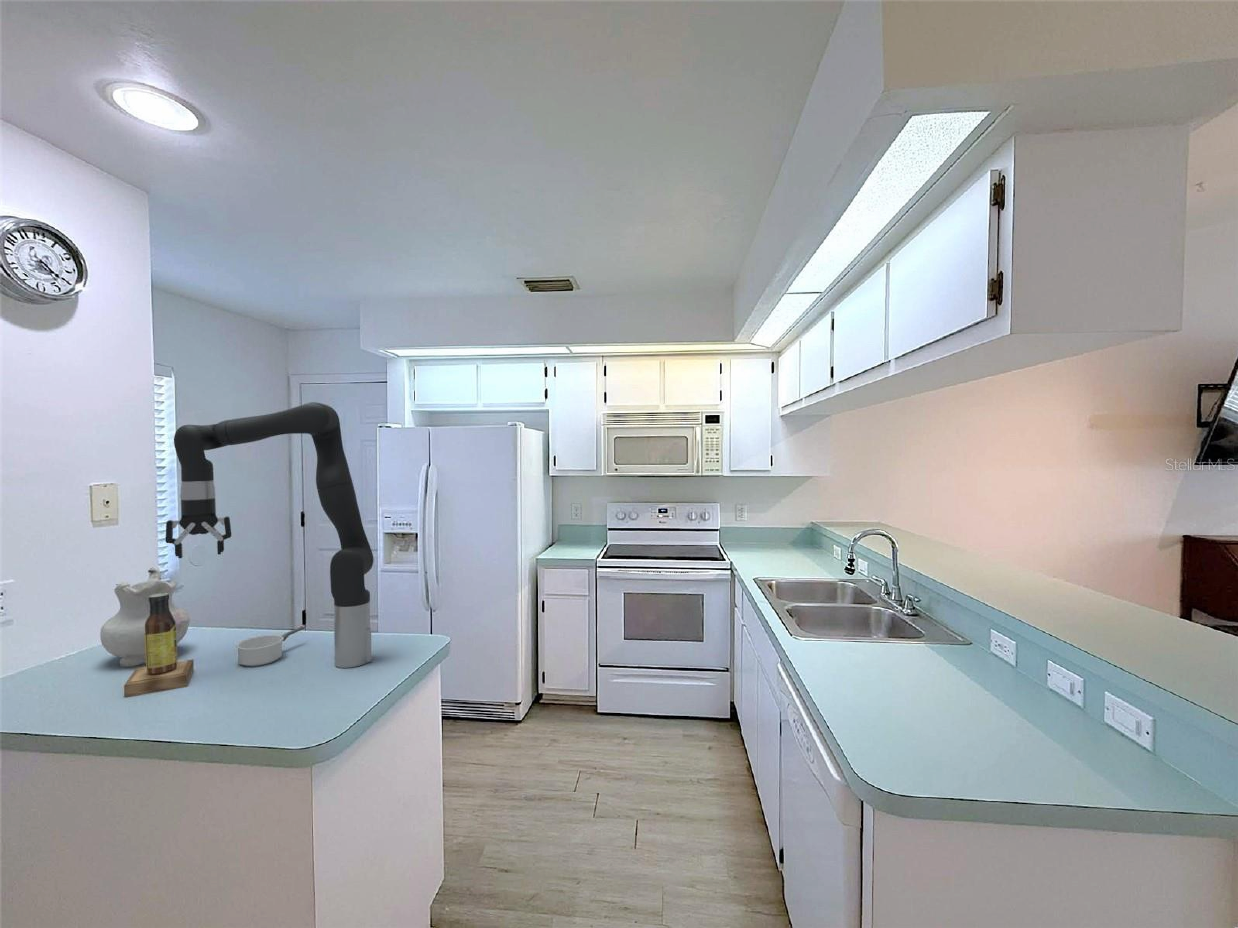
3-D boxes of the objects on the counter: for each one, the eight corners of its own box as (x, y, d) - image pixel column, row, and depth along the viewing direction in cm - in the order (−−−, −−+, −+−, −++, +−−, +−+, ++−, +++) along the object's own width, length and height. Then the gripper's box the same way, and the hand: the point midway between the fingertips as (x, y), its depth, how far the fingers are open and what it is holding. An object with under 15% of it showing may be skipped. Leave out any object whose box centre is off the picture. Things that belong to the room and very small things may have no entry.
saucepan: (317, 646, 167) (317, 628, 167) (256, 671, 148) (255, 651, 148) (289, 641, 171) (289, 624, 170) (226, 665, 152) (226, 646, 152)
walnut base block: (193, 669, 148) (193, 658, 148) (186, 686, 138) (186, 673, 138) (136, 679, 142) (135, 667, 142) (124, 697, 132) (124, 684, 132)
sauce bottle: (182, 668, 141) (181, 593, 141) (153, 677, 136) (152, 599, 135) (168, 663, 144) (167, 590, 144) (140, 672, 138) (138, 596, 138)
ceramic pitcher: (106, 657, 160) (95, 575, 158) (189, 637, 173) (180, 561, 171) (103, 681, 144) (91, 590, 142) (195, 657, 157) (185, 573, 155)
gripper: (230, 495, 155) (232, 551, 156) (166, 498, 147) (168, 556, 148) (229, 496, 149) (231, 555, 149) (162, 500, 141) (164, 561, 141)
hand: (200, 555), depth 149 cm, fingers open, 8 cm apart
